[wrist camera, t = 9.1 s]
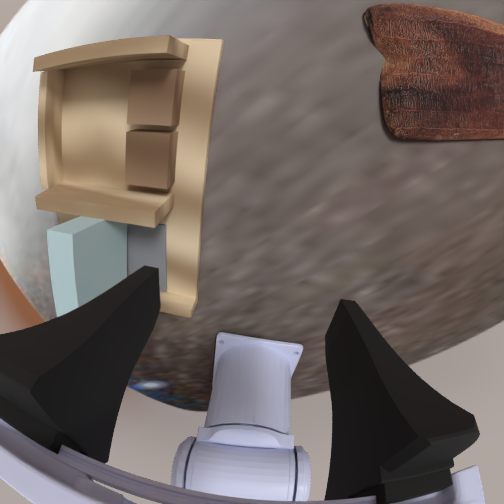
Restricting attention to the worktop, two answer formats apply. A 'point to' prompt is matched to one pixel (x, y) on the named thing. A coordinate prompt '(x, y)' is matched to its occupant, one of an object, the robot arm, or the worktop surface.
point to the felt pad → (147, 250)
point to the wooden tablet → (439, 72)
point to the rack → (114, 145)
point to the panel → (85, 260)
